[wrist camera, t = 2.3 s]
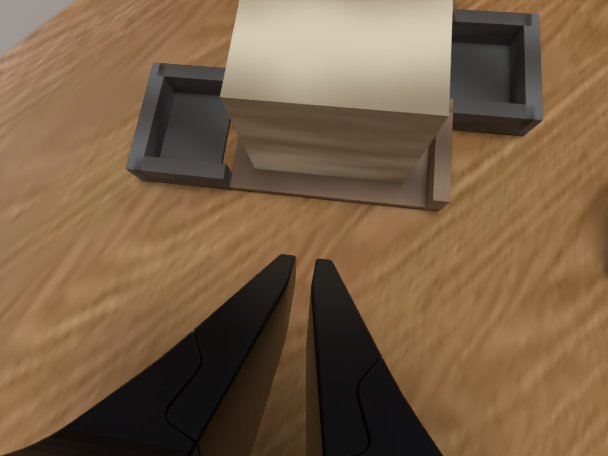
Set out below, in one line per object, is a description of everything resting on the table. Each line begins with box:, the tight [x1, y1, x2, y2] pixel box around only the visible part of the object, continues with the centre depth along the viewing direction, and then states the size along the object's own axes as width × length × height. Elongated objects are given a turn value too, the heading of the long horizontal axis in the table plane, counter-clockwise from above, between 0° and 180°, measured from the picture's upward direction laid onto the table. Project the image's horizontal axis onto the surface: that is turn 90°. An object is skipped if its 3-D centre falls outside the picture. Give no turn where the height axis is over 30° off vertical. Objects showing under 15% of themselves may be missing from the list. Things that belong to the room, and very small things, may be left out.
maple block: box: [220, 0, 453, 183], centre depth 20 cm, size 14×10×8 cm
